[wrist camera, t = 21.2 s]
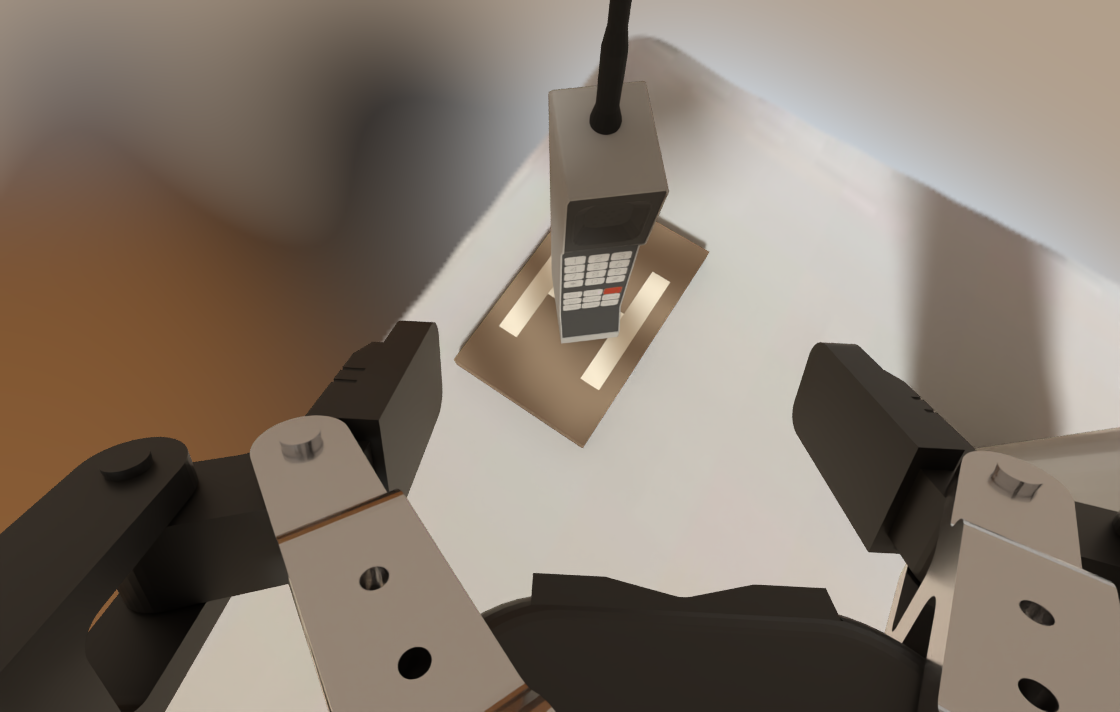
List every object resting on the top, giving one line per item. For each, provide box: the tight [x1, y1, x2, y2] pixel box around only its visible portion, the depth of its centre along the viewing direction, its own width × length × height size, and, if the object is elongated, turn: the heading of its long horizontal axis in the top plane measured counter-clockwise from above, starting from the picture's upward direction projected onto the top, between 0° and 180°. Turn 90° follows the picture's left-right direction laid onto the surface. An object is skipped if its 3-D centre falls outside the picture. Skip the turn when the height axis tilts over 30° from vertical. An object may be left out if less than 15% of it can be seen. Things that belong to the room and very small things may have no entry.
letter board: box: [454, 221, 709, 448], centre depth 36 cm, size 16×10×1 cm, turn 146°
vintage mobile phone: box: [548, 0, 669, 343], centre depth 23 cm, size 4×5×25 cm
